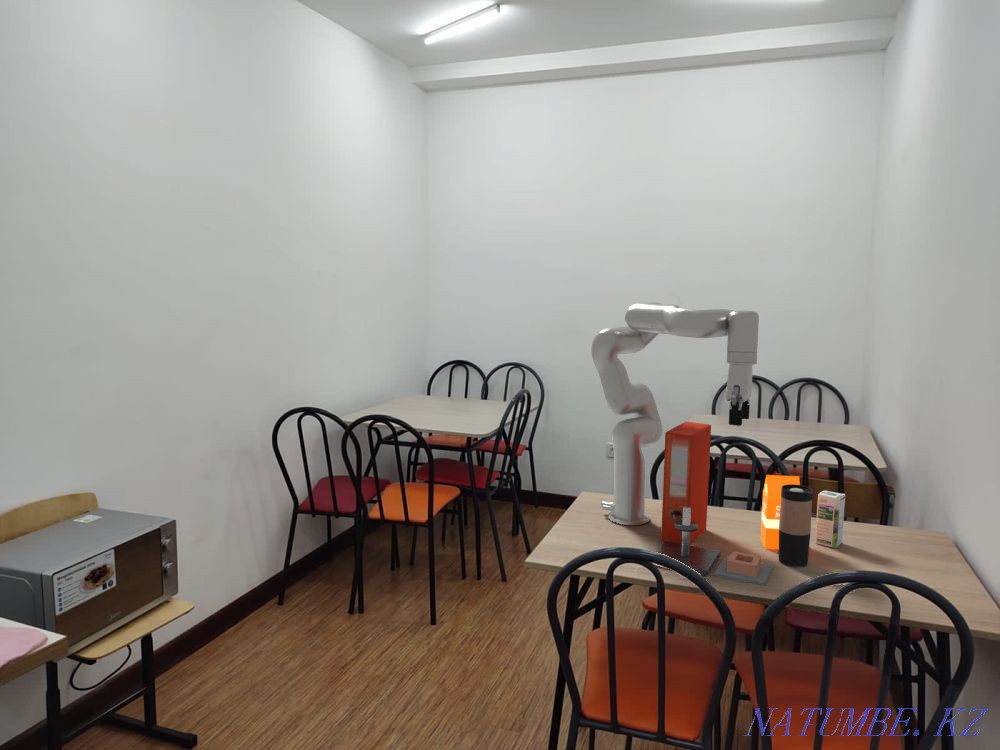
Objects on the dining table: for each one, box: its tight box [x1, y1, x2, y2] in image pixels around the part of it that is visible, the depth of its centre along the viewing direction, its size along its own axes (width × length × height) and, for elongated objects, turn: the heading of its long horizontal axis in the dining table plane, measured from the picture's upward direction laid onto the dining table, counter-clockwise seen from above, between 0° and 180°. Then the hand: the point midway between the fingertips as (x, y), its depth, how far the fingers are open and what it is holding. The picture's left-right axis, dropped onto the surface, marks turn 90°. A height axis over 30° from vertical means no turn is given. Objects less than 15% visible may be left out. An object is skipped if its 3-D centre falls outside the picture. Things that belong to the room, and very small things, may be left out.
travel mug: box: [778, 484, 813, 568], centre depth 184 cm, size 8×8×20 cm
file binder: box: [660, 421, 712, 546], centre depth 203 cm, size 8×17×32 cm, turn 148°
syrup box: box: [814, 490, 846, 549], centre depth 198 cm, size 6×6×14 cm
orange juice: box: [760, 474, 801, 551], centre depth 196 cm, size 8×9×20 cm
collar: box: [727, 550, 762, 577], centre depth 179 cm, size 7×7×3 cm
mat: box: [713, 557, 774, 587], centre depth 179 cm, size 12×12×1 cm
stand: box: [655, 507, 722, 577], centre depth 186 cm, size 15×15×14 cm
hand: (739, 421), depth 187 cm, fingers open, 9 cm apart
